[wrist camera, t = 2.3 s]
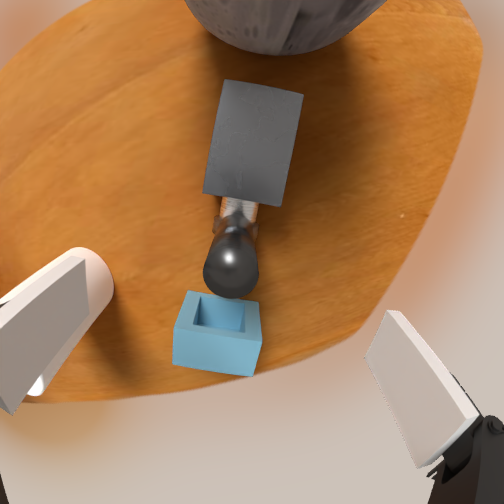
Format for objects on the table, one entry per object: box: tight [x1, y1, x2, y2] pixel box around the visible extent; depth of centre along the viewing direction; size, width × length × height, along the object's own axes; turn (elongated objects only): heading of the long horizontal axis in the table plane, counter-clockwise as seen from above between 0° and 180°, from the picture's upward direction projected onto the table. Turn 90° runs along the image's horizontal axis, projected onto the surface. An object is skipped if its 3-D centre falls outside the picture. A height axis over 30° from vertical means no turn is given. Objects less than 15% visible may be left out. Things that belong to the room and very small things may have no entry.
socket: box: [172, 290, 262, 377], centre depth 27 cm, size 4×8×7 cm, turn 79°
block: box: [202, 79, 304, 207], centre depth 22 cm, size 9×6×6 cm, turn 169°
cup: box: [0, 247, 114, 396], centre depth 21 cm, size 8×8×16 cm
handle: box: [203, 197, 259, 299], centre depth 20 cm, size 17×4×12 cm, turn 169°
